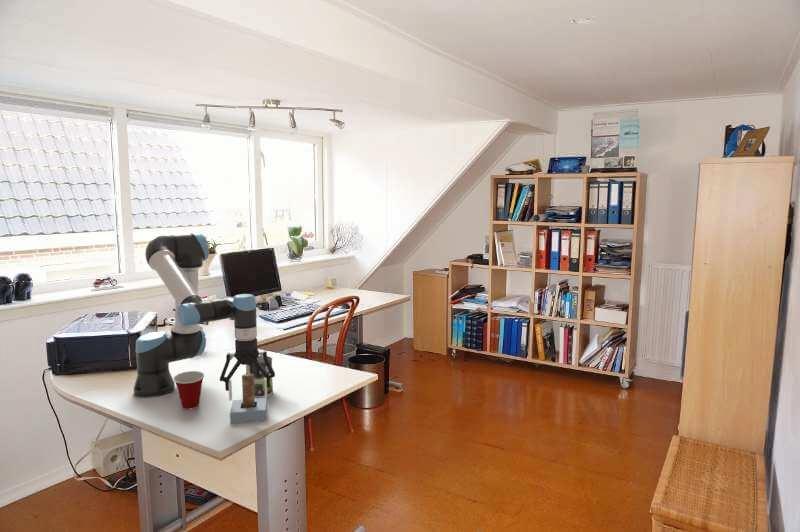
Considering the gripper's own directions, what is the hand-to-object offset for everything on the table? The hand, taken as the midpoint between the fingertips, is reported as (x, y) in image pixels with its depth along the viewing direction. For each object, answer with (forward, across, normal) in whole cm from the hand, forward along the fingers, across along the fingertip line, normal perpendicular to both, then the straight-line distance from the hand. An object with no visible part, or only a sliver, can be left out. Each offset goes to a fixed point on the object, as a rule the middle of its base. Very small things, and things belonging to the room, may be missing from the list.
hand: (248, 397), depth 190 cm
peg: (+7, 0, 0) cm, 7 cm away
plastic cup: (+7, -22, +14) cm, 27 cm away
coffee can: (+7, +3, +22) cm, 23 cm away
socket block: (+7, 0, 0) cm, 7 cm away
